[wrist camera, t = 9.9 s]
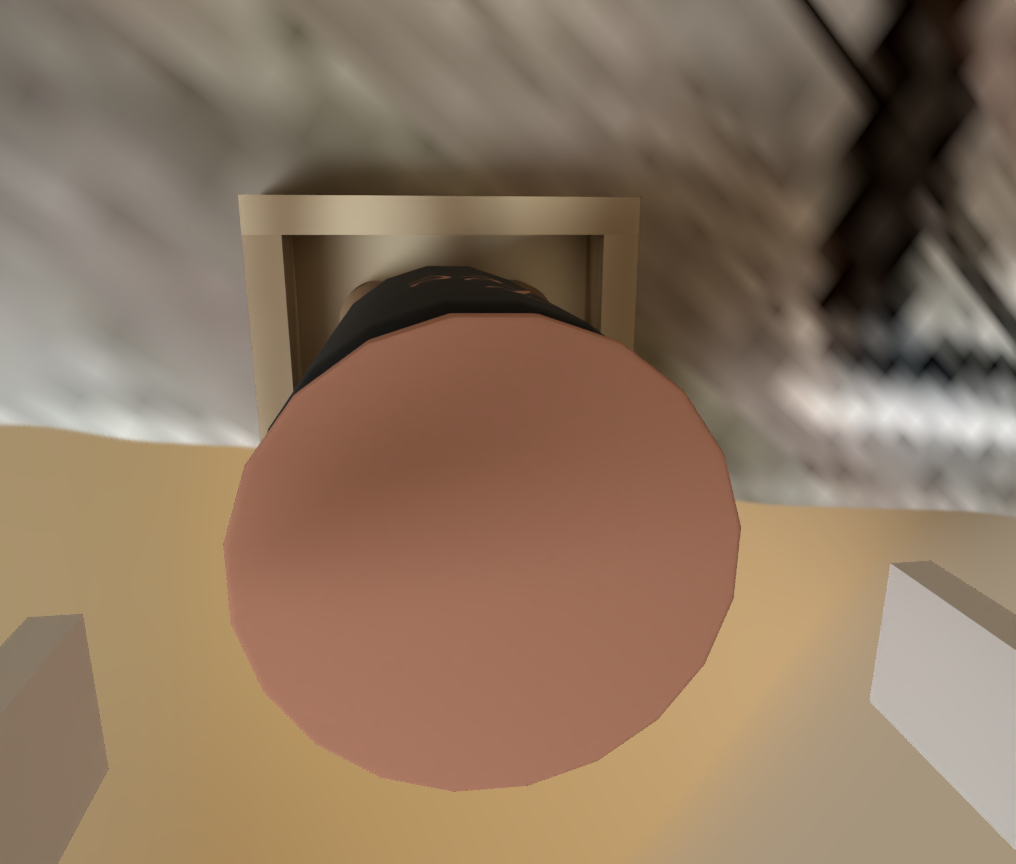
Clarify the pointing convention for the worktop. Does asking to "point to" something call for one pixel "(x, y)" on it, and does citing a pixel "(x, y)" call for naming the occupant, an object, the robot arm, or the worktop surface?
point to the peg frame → (422, 263)
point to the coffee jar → (479, 538)
